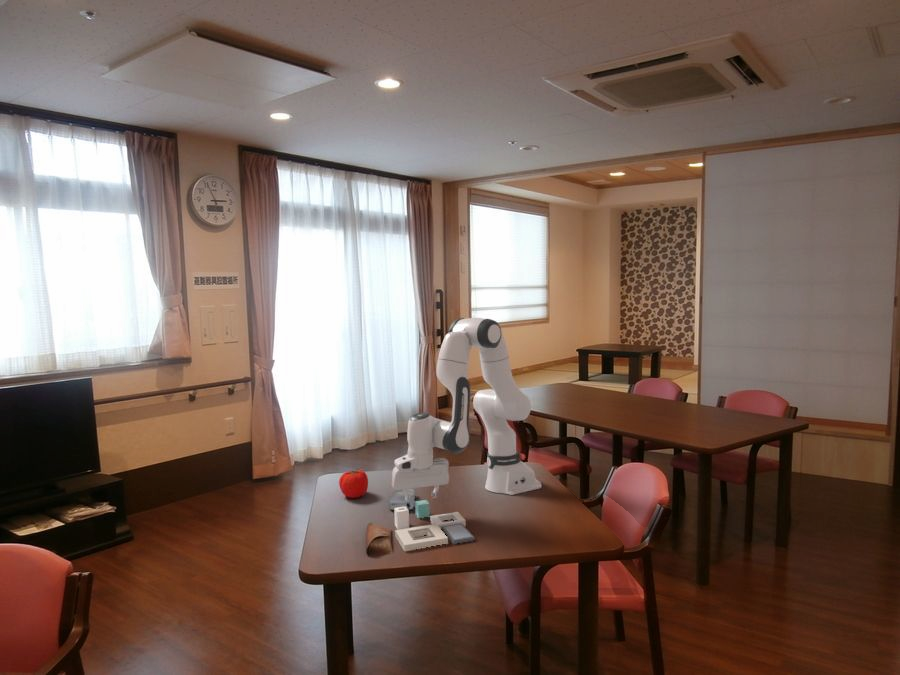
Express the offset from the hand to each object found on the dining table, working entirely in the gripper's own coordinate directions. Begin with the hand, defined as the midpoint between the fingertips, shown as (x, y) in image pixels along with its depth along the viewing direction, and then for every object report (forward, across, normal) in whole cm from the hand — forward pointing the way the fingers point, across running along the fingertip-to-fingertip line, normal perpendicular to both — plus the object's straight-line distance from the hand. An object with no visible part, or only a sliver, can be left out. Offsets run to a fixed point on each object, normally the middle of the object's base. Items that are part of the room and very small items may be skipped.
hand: (420, 498), depth 206 cm
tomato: (+7, +18, -30) cm, 36 cm away
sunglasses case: (+8, +18, +15) cm, 25 cm away
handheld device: (+7, +2, -16) cm, 18 cm away
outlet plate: (+7, +5, +19) cm, 20 cm away
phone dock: (+6, -7, +16) cm, 18 cm away
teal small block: (+6, -1, 0) cm, 6 cm away
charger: (+7, +8, +6) cm, 12 cm away
